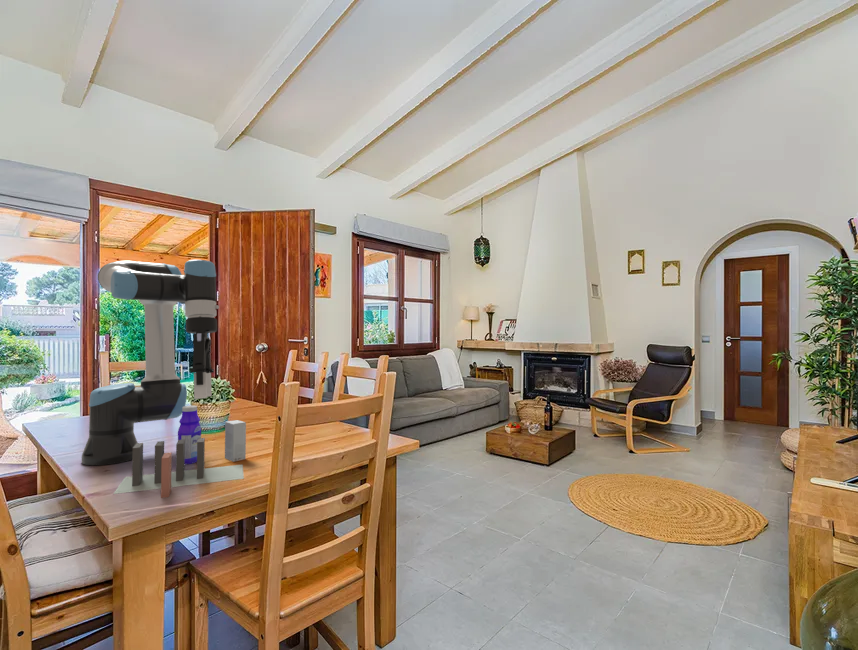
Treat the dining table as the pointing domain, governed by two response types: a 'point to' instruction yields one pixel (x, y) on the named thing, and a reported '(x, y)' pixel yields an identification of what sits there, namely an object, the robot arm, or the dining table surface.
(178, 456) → the domino
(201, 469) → the domino
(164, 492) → the end domino
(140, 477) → the domino
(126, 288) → the robot arm
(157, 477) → the domino
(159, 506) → the dining table surface
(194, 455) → the bottle
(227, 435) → the skincare box
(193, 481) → the mat
